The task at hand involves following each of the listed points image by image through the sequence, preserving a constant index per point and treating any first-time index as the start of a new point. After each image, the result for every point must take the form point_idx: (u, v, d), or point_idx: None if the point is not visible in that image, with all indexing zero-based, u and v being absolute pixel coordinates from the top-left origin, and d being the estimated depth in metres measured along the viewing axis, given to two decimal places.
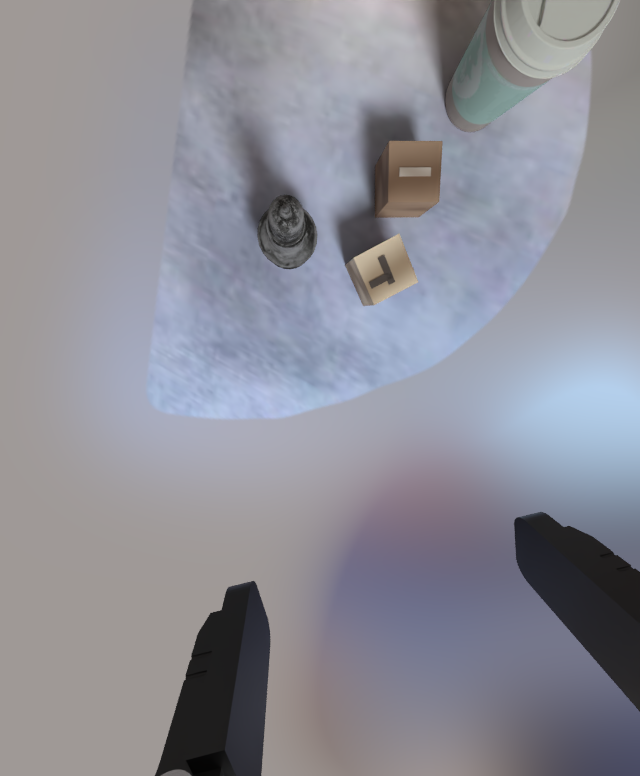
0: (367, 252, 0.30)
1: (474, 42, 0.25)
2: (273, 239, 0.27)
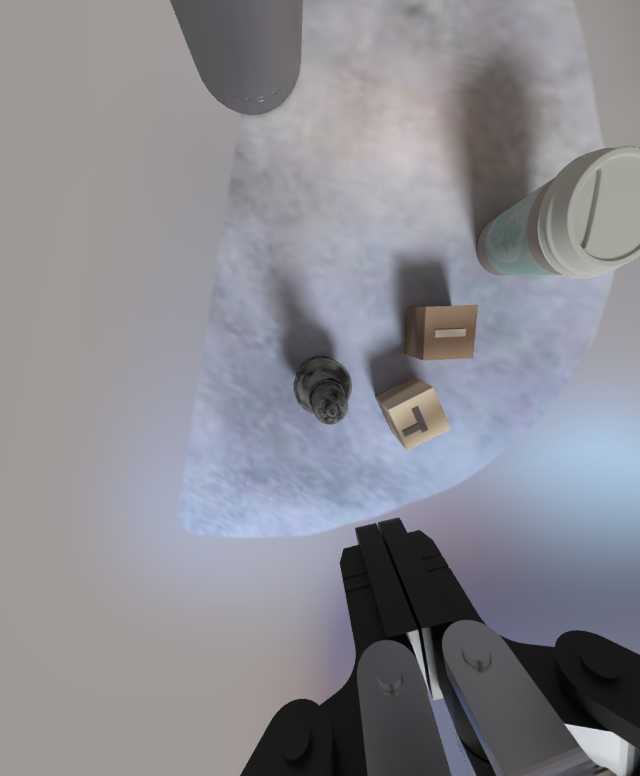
0: (401, 405, 0.31)
1: (513, 226, 0.26)
2: (313, 411, 0.27)
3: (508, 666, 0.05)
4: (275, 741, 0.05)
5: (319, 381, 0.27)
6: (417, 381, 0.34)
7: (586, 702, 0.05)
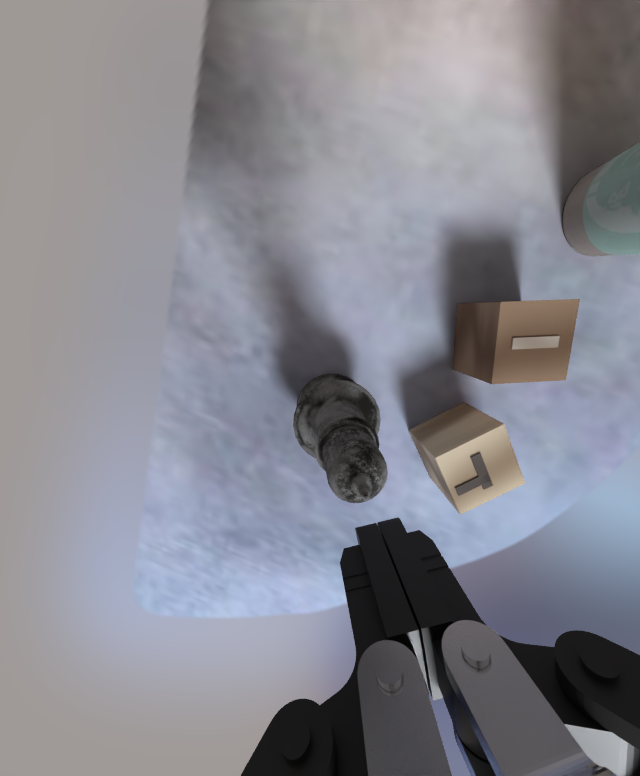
0: (456, 450, 0.20)
1: None
2: (325, 468, 0.17)
3: (508, 666, 0.05)
4: (275, 741, 0.05)
5: (335, 422, 0.16)
6: (471, 410, 0.23)
7: (585, 702, 0.05)
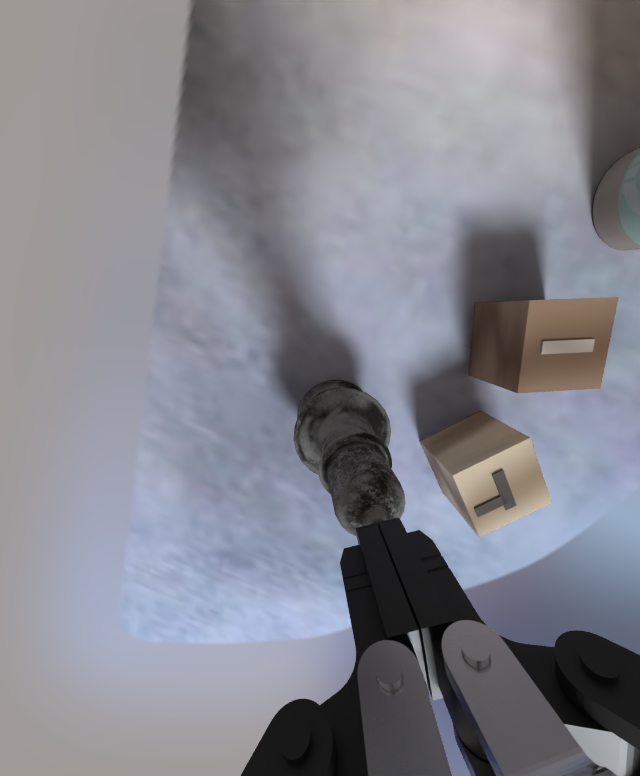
0: (476, 466, 0.18)
1: None
2: (331, 491, 0.15)
3: (508, 666, 0.05)
4: (276, 741, 0.05)
5: (342, 439, 0.14)
6: (490, 420, 0.21)
7: (585, 702, 0.05)
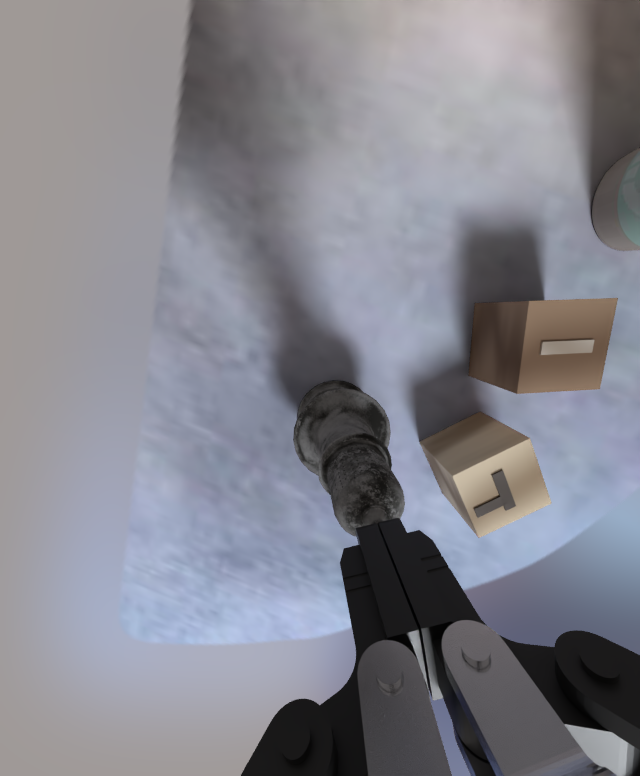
0: (475, 467, 0.18)
1: None
2: (330, 492, 0.15)
3: (508, 666, 0.05)
4: (276, 741, 0.05)
5: (341, 440, 0.14)
6: (490, 421, 0.21)
7: (585, 702, 0.05)
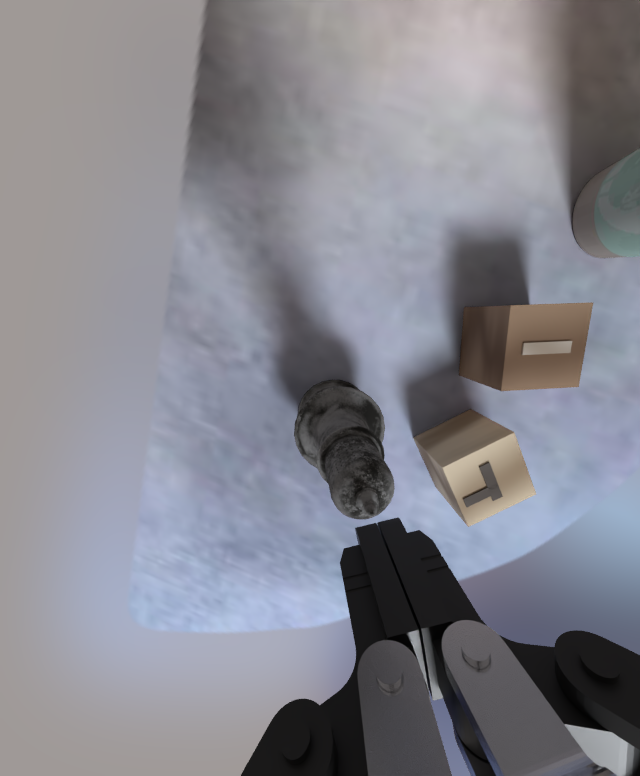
0: (464, 459, 0.19)
1: None
2: (328, 481, 0.16)
3: (508, 666, 0.05)
4: (276, 741, 0.05)
5: (338, 432, 0.16)
6: (479, 417, 0.22)
7: (585, 702, 0.05)
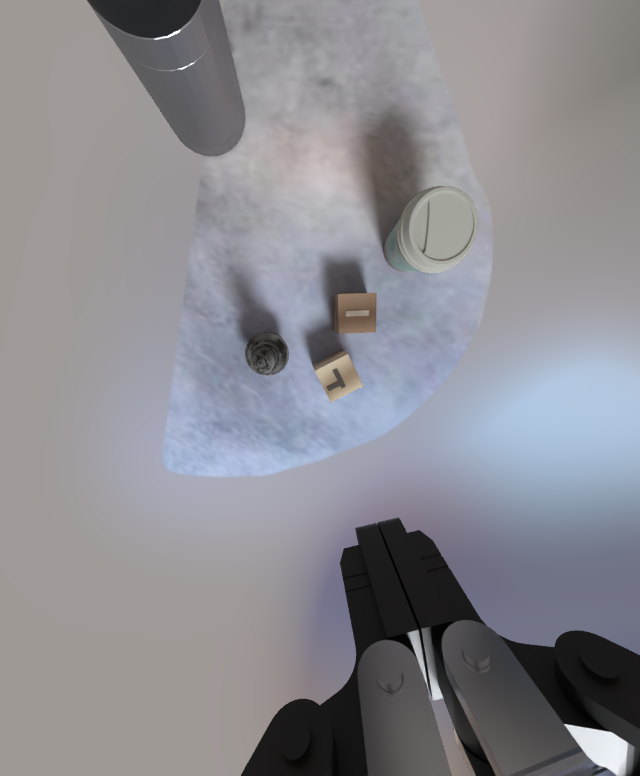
0: (325, 367, 0.41)
1: (393, 236, 0.37)
2: None
3: (508, 666, 0.05)
4: (275, 741, 0.05)
5: (258, 346, 0.37)
6: (342, 351, 0.44)
7: (586, 702, 0.05)
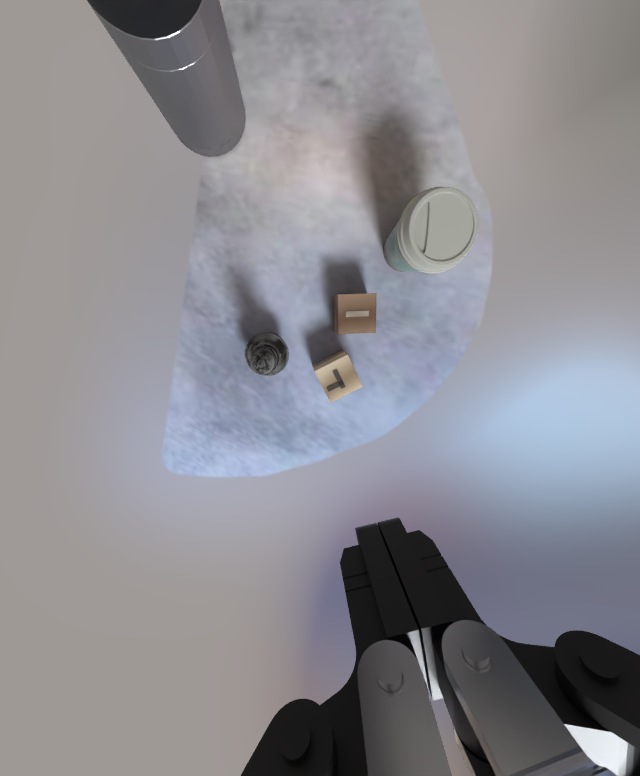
0: (324, 367, 0.41)
1: (393, 236, 0.37)
2: None
3: (508, 666, 0.05)
4: (275, 741, 0.05)
5: (258, 346, 0.37)
6: (341, 352, 0.44)
7: (586, 702, 0.05)
